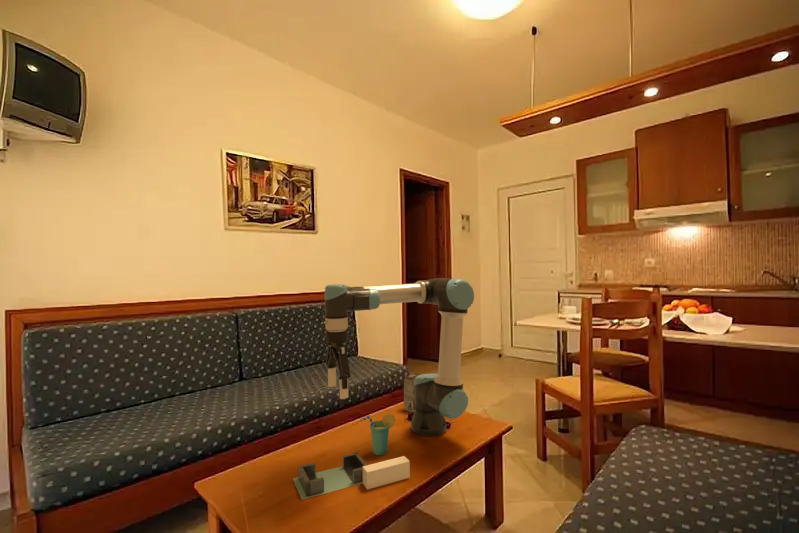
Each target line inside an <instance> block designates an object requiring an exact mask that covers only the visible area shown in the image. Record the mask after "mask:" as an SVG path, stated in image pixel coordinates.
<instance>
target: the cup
mask: <svg viewBox="0 0 799 533" xmlns="http://www.w3.org/2000/svg"><path fill="white" fill-rule="evenodd" d="M368 419H369V428H370V435H371V445H372V452H373V455H376V456H384V455H386V454H387V453H388V446H389V445H388V442H389V430H390V428H391V427H393V426H394V425H395V423H396V419H395V415H393V414H391V413H390V412H389V413H386V414H384V415H383V417H382V420H375V421H373V420H372V417H371V416H370V415H367V416H364V417H363V418H361V419H360V422H363V421H366V420H368Z"/></svg>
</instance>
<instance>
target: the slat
mask: <svg viewBox="0 0 799 533" xmlns="http://www.w3.org/2000/svg"><path fill="white" fill-rule="evenodd" d="M410 463H411V461H410V460H409V459H408V458H407V457H406V456H404V455H402V456H399V457H395V458H391V459H387V460H382V461H380V462H375V463H372V464H371V463H370V464H367V466H363V483H362V485H363V486H364V487H365V489H366V490H367V491H368V490H370V489H374V488H375V489H376V488H378V487H382V486H385V485H389V484H393V483H395V482H396V483H397V482H400V481H403V480H406V479H410V478H411V475H410V473H411V470H410V469H411V467H410V466H411V465H410Z"/></svg>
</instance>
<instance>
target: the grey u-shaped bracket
mask: <svg viewBox="0 0 799 533" xmlns="http://www.w3.org/2000/svg"><path fill="white" fill-rule="evenodd" d="M367 465H368V463H367V462H366V461H365V460H364V459H363V457H362V456H361V455H360V454H359V453H358V452H353V453H349V454H345V455H342V466H343V469H344V470H345V472H346V473H347V474H348V476H349V477H350V479H351V480H352V482H353V483H354V484H355V483H359V482H363V466H367Z"/></svg>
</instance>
